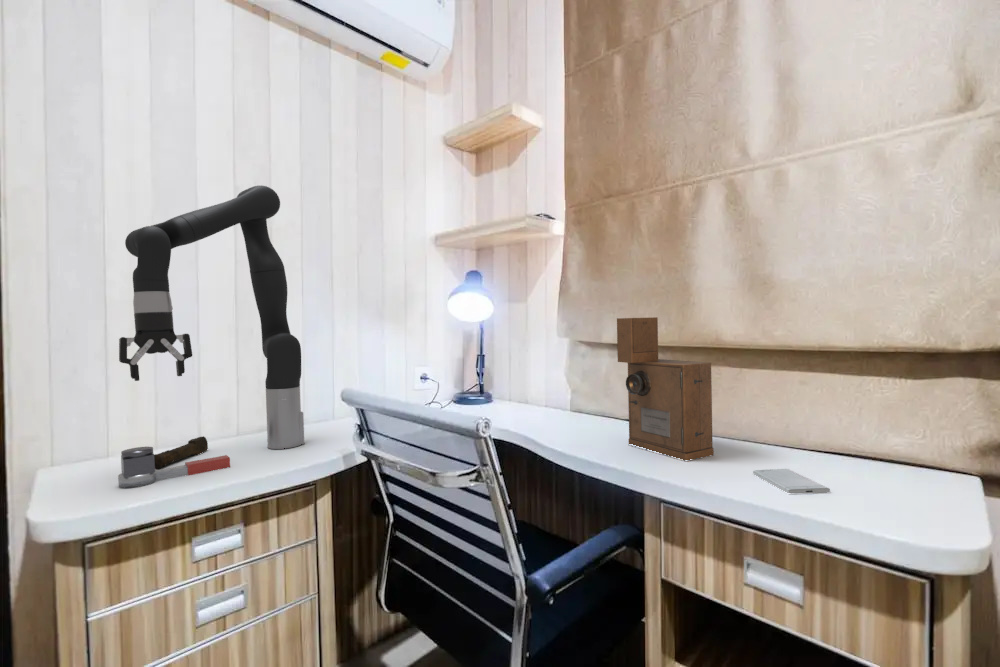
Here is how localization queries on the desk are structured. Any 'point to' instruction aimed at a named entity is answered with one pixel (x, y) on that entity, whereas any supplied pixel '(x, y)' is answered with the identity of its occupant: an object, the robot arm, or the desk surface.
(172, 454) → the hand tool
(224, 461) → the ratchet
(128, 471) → the block with domed cap
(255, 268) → the robot arm
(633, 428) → the vintage camera
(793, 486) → the hard drive
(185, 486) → the desk surface
